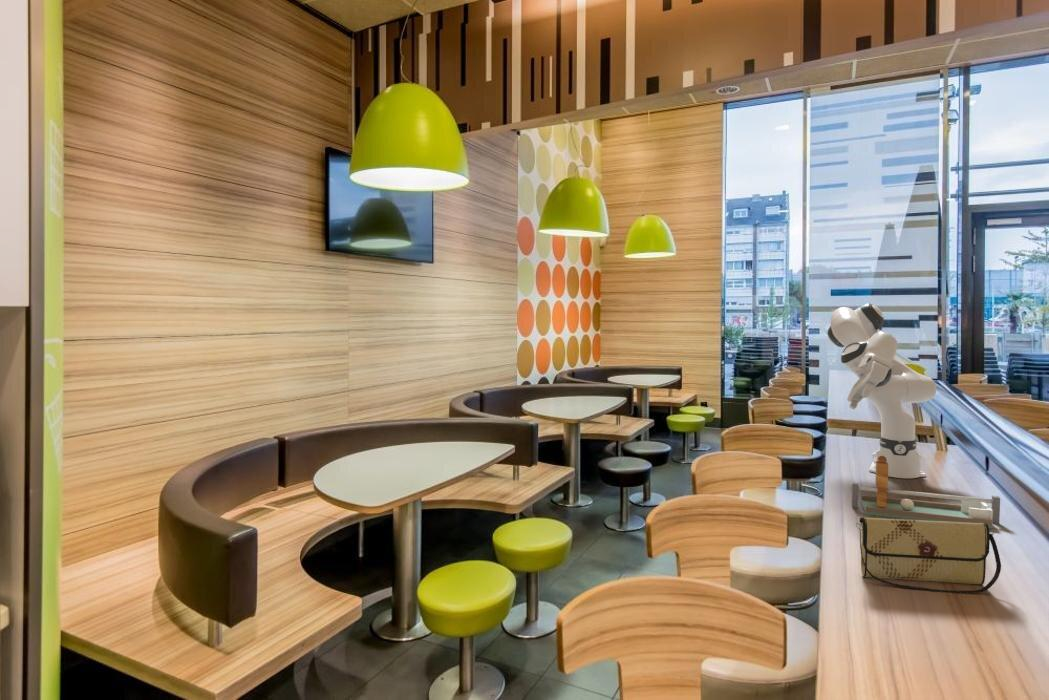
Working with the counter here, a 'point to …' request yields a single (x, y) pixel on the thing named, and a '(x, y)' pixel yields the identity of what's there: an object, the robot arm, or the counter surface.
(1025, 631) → the counter surface
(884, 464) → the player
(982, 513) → the pitch
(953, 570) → the clutch purse
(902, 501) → the ball
